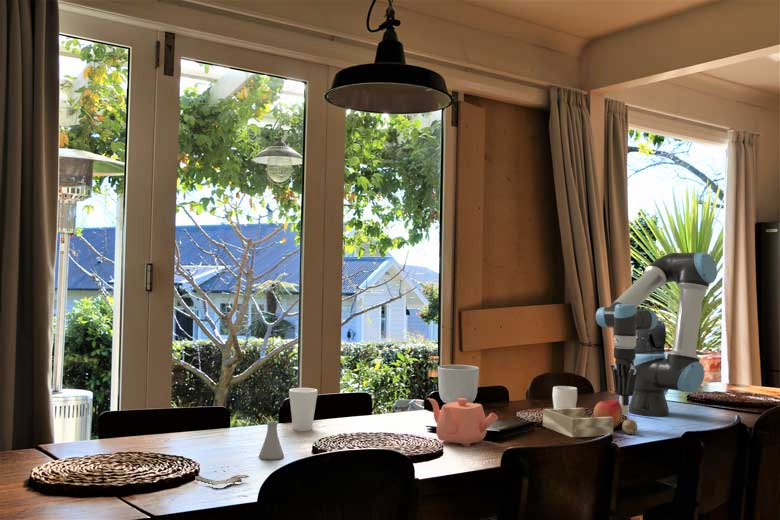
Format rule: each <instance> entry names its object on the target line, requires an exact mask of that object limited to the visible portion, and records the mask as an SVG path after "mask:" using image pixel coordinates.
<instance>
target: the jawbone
mask: <svg viewBox="0 0 780 520" xmlns="http://www.w3.org/2000/svg"><path fill="white" fill-rule="evenodd" d="M248 478H250V476H249V475H247V474H237V475H234V476H231V477H229V478H227V479H222V480H221V479H219V480H215V479H209V478H206V477H203V476H201V475H197V476H195V480H197V481H201V482H204V483H208V484H212V485H218V484H227V483H235V482H242V481H243V479H248ZM210 482H211V483H210Z"/></svg>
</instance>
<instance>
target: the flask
mask: <svg viewBox="0 0 780 520" xmlns="http://www.w3.org/2000/svg"><path fill="white" fill-rule="evenodd" d="M278 424H279V422H278V421H275V420H274V421H270V420H269V421H267V422H266V425H267V428H266V429H267V430H266V436H265V437H264V438H265V439H264V441H263V444H262V446H261V449H260V452H259V455H258V458H259V457H260V458H259V459H261V460H267V459H268V460H267V461H272V460H281V459H283V458H285V455H284V451H283V449H282V445H281V442H280V439H279V436H278V435H279V433H278Z"/></svg>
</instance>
